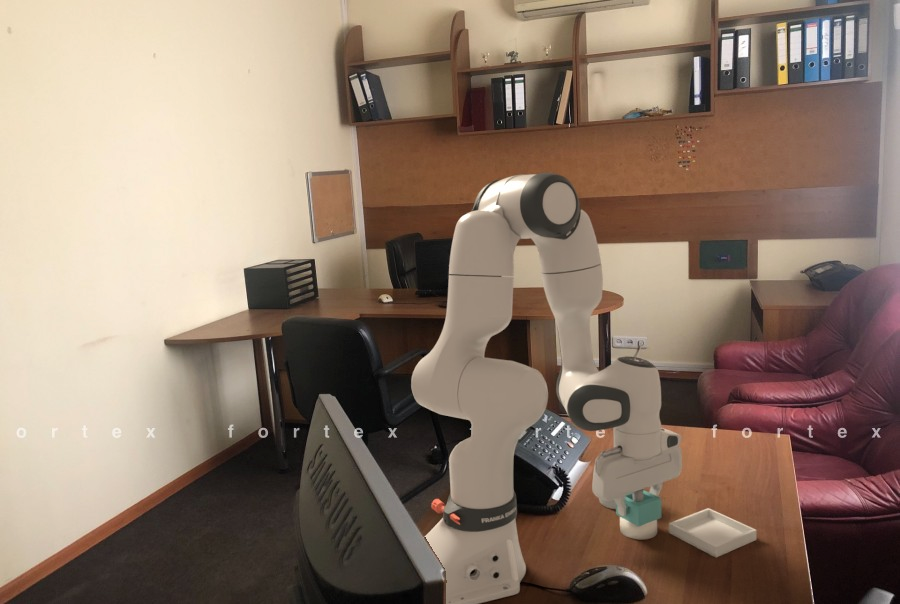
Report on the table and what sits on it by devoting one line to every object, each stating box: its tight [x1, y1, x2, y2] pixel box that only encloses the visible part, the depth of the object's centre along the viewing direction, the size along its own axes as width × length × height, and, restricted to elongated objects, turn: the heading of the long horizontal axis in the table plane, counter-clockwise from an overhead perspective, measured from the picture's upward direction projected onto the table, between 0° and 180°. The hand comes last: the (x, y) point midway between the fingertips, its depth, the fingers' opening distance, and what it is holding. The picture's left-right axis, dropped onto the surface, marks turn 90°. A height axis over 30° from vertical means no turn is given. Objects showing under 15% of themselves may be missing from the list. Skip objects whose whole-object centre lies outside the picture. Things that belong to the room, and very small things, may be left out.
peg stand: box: [619, 489, 658, 541], centre depth 134 cm, size 7×7×8 cm
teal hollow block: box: [615, 489, 662, 527], centre depth 134 cm, size 6×8×4 cm
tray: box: [668, 507, 758, 558], centre depth 131 cm, size 11×11×2 cm
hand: (638, 509), depth 134 cm, fingers closed on teal hollow block, 6 cm apart
